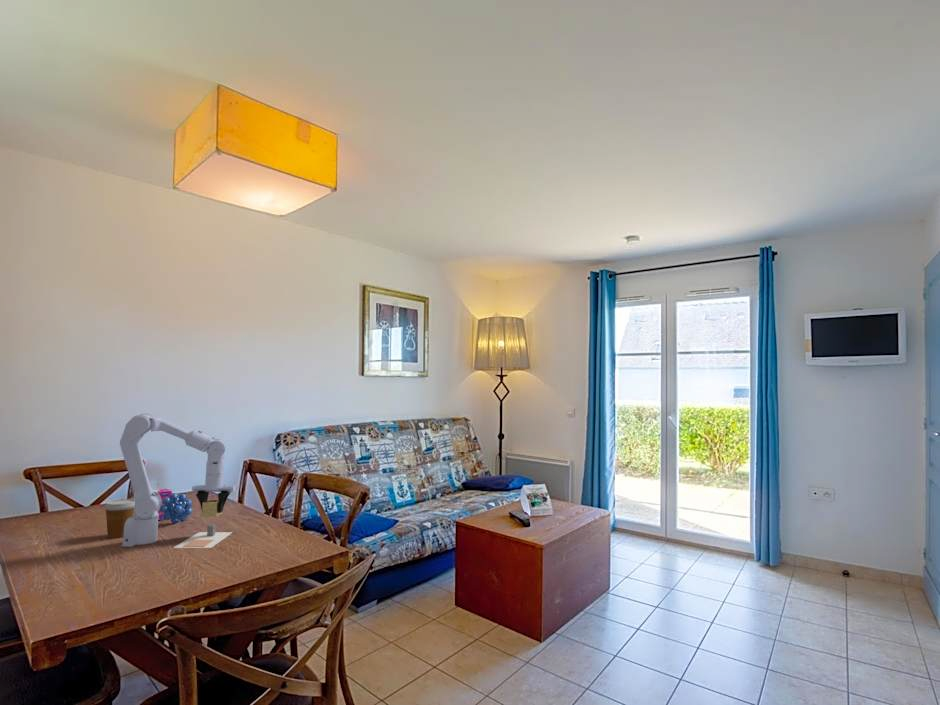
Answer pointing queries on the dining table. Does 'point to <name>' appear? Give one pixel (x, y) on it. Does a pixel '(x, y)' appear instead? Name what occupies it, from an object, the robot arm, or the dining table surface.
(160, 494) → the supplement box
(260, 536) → the dining table surface
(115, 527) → the disposable coffee cup
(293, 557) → the dining table surface
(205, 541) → the board
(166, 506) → the grapes
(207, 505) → the sleeve
